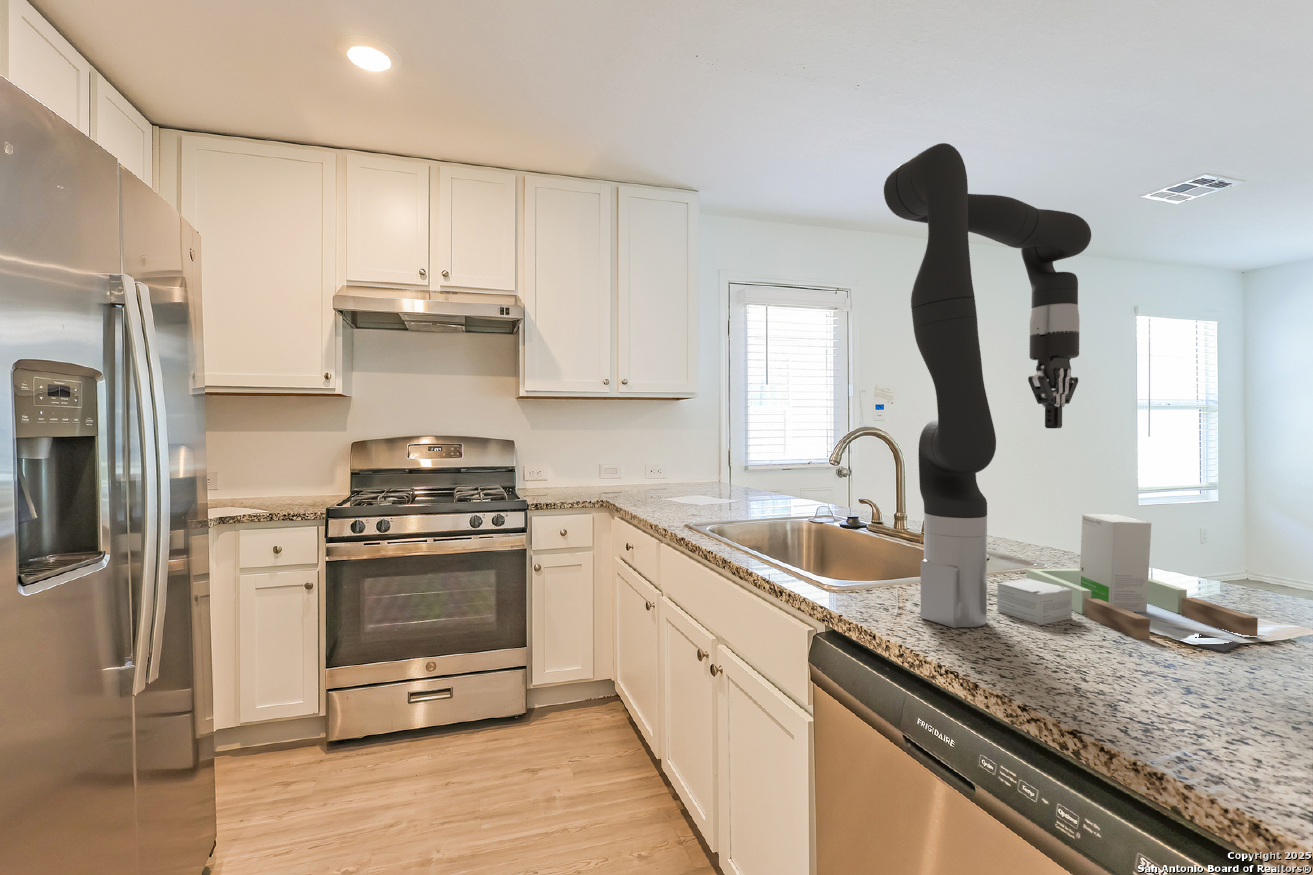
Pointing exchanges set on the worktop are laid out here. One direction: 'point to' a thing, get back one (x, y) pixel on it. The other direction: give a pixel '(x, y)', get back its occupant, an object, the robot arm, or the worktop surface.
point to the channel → (1191, 608)
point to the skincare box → (1116, 559)
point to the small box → (1034, 601)
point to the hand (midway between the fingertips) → (1053, 428)
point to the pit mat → (1218, 645)
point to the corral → (1069, 578)
